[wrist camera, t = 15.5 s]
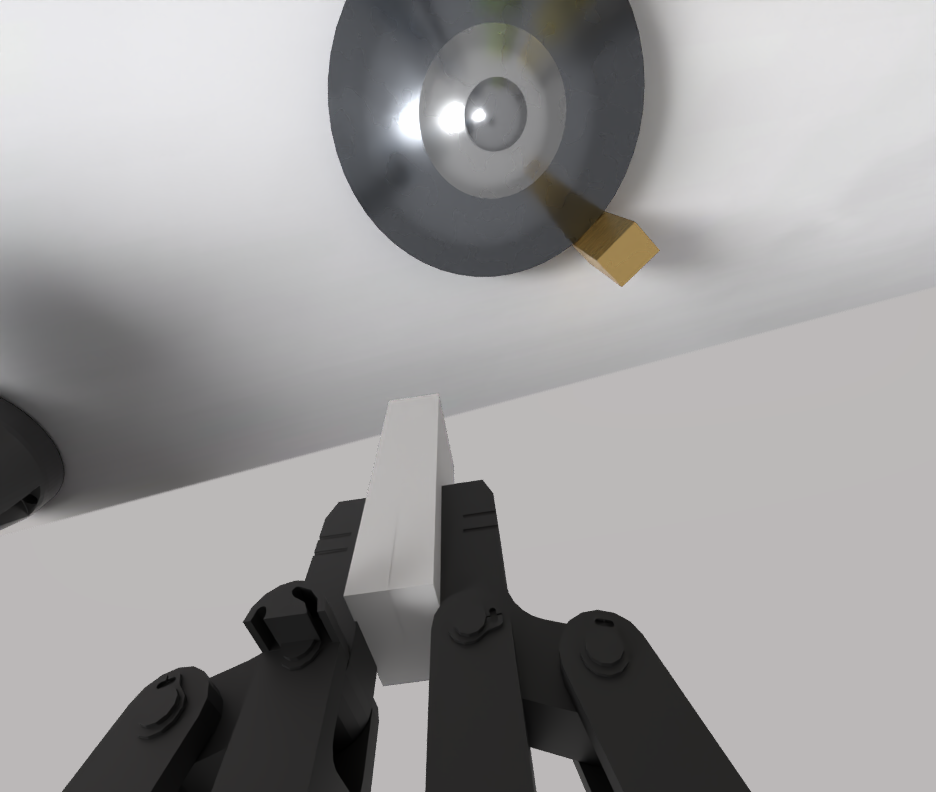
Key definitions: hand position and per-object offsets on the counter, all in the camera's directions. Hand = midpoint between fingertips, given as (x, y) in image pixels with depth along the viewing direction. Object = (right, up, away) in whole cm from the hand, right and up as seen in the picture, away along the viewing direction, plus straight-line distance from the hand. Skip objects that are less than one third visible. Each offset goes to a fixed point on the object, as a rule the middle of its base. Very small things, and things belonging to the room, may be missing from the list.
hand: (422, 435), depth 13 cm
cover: (+2, +19, +15) cm, 24 cm away
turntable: (+4, +19, +16) cm, 25 cm away
